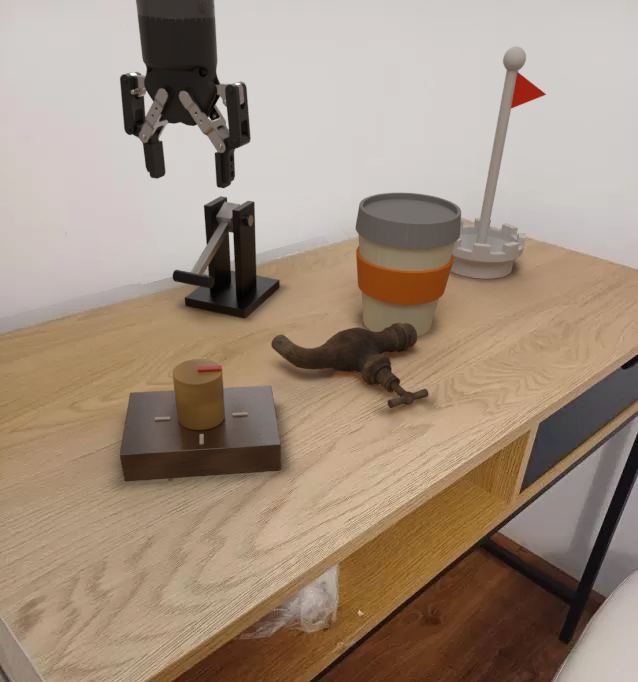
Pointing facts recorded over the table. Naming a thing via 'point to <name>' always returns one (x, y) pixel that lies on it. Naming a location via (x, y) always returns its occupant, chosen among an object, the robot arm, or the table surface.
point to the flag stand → (480, 239)
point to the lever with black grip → (209, 250)
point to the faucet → (358, 356)
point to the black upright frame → (242, 284)
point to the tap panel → (200, 437)
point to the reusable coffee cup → (404, 257)
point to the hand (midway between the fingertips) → (190, 181)
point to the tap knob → (199, 394)
